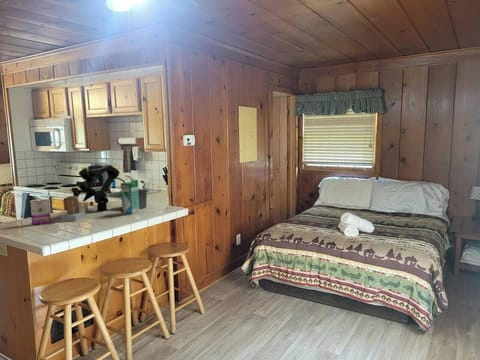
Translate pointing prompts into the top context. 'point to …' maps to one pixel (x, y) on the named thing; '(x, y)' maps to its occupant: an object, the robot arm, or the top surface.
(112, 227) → the top surface
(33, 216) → the candy bar box
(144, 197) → the storage bin
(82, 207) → the birch block
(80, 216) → the base block
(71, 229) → the top surface
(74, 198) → the walnut block
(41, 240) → the top surface
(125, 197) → the milk carton
